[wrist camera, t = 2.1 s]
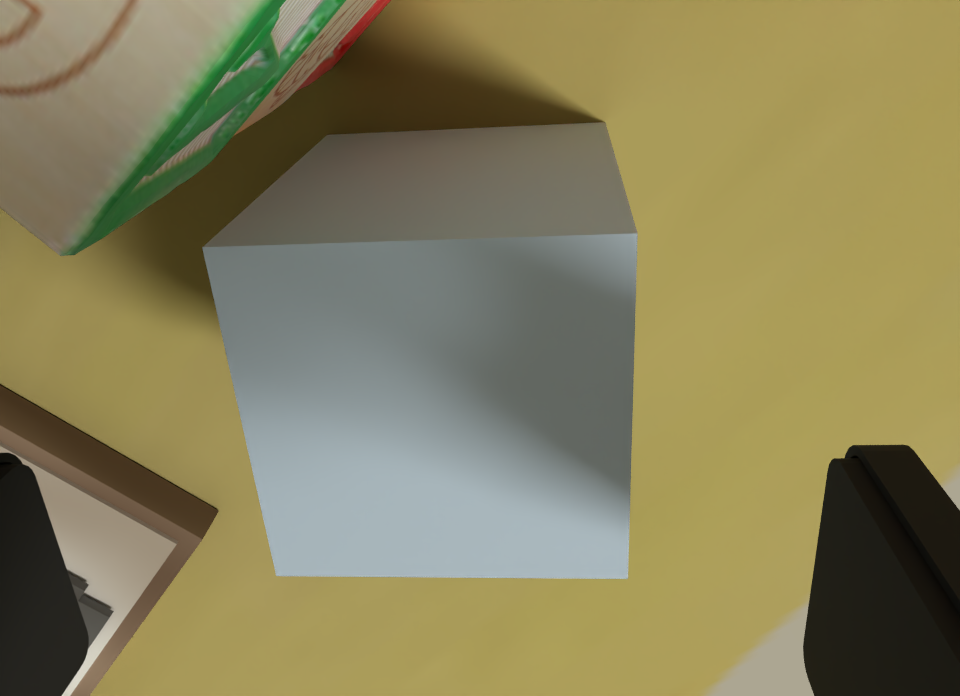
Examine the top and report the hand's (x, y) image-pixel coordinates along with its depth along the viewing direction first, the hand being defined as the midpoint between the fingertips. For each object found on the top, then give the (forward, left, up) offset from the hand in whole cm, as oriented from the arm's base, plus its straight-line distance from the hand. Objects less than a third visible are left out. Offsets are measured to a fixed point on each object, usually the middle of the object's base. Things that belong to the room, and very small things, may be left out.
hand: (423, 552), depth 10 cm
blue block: (-1, 0, -7) cm, 7 cm away
